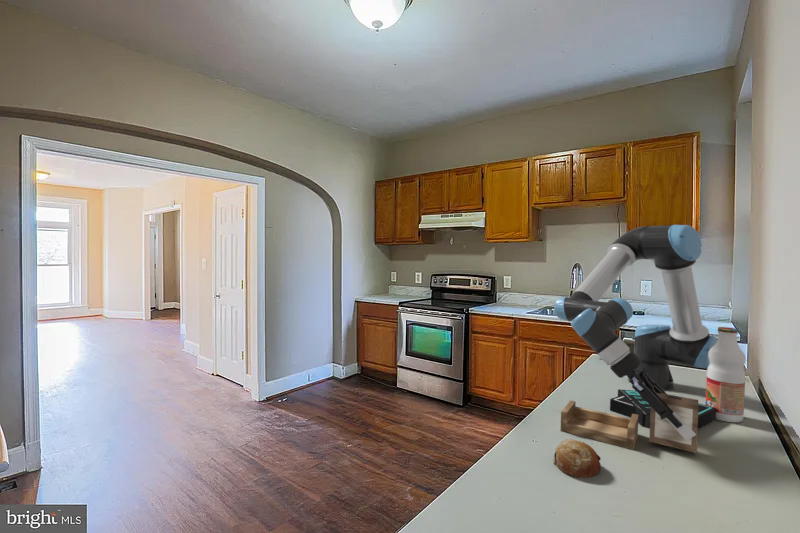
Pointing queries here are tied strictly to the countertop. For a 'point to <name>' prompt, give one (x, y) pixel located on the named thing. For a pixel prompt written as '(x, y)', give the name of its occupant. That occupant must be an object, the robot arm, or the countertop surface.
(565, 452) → the bread roll
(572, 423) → the wooden tray
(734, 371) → the fruit juice
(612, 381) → the countertop surface
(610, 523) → the countertop surface
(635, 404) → the wall plaque
